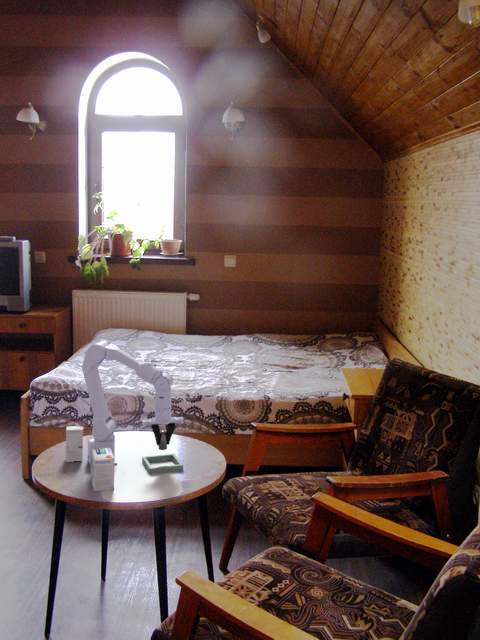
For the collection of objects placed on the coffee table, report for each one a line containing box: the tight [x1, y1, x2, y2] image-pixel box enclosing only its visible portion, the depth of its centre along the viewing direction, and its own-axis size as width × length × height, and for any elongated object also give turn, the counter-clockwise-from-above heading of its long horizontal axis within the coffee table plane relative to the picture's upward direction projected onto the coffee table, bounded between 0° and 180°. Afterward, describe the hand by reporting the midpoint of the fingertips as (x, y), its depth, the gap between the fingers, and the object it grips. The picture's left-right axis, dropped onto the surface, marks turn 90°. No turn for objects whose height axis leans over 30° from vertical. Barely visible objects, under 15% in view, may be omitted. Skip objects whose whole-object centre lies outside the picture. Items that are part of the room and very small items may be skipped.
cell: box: [158, 430, 168, 451], centre depth 234 cm, size 3×3×6 cm
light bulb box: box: [90, 448, 115, 492], centre depth 218 cm, size 11×7×11 cm, turn 19°
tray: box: [141, 453, 184, 475], centre depth 236 cm, size 12×12×2 cm
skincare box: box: [65, 425, 84, 463], centre depth 239 cm, size 6×4×12 cm
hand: (162, 444), depth 235 cm, fingers closed on cell, 3 cm apart
